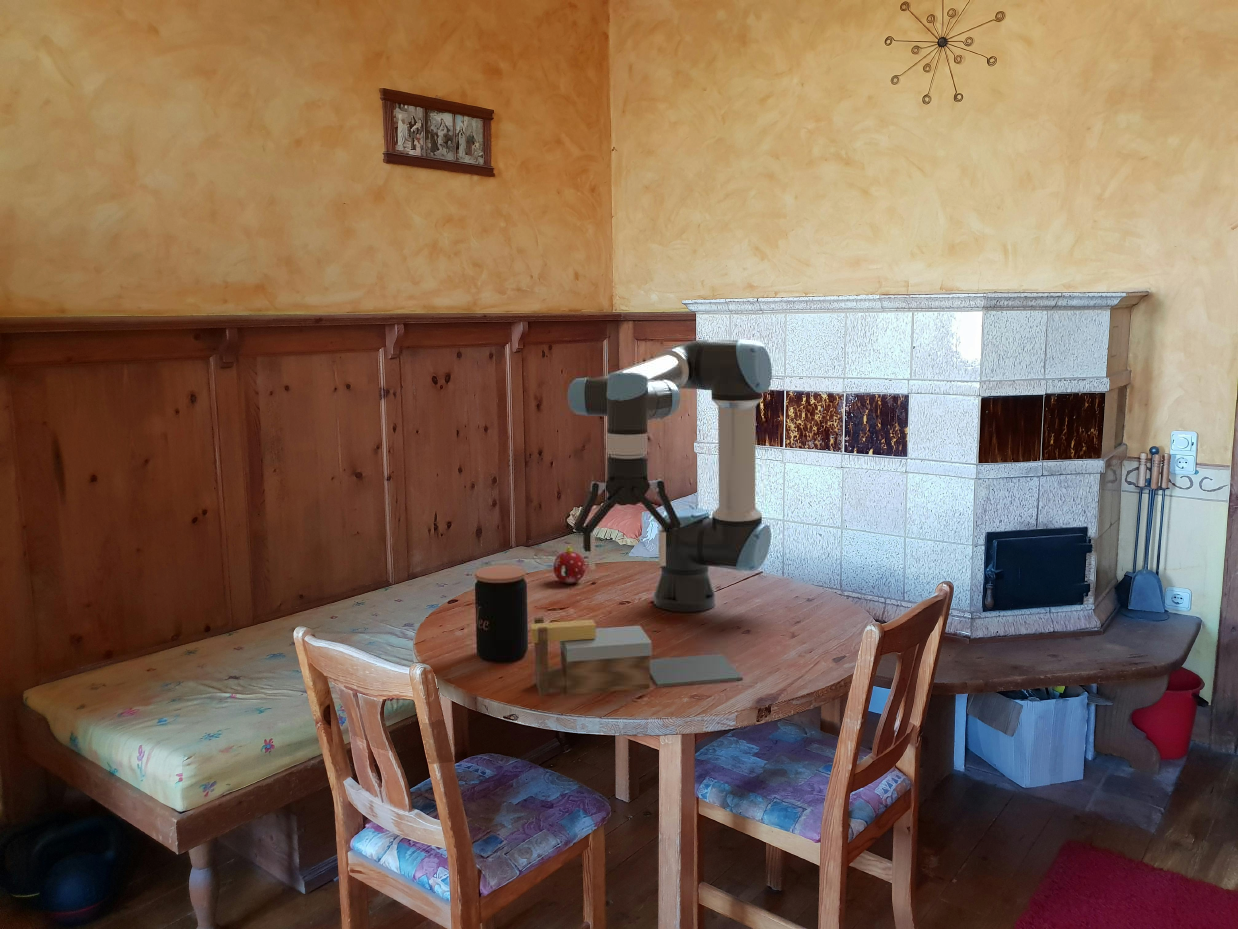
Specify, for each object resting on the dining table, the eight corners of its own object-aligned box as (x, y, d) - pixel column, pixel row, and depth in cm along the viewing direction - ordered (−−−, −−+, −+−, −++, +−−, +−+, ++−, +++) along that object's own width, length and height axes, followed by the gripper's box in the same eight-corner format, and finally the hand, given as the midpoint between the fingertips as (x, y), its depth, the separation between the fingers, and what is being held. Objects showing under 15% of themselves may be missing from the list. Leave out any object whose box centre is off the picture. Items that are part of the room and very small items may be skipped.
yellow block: (593, 633, 178) (593, 619, 178) (595, 638, 175) (595, 624, 175) (530, 637, 176) (530, 624, 176) (532, 643, 173) (532, 629, 173)
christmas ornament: (590, 580, 251) (590, 544, 249) (577, 589, 243) (577, 551, 241) (561, 577, 254) (561, 541, 252) (548, 585, 246) (547, 548, 244)
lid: (639, 645, 184) (639, 625, 184) (651, 662, 175) (651, 642, 174) (559, 650, 181) (559, 631, 181) (567, 669, 171) (567, 648, 171)
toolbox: (641, 674, 184) (641, 610, 182) (649, 687, 177) (649, 621, 175) (535, 682, 180) (534, 617, 178) (539, 696, 173) (538, 629, 171)
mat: (721, 656, 193) (721, 654, 193) (742, 680, 181) (742, 677, 181) (642, 663, 190) (642, 660, 190) (657, 687, 177) (657, 684, 177)
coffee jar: (478, 647, 199) (476, 565, 197) (528, 645, 200) (526, 564, 198) (474, 665, 189) (472, 579, 186) (527, 663, 190) (526, 578, 187)
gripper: (686, 450, 180) (685, 558, 183) (558, 454, 175) (559, 564, 178) (697, 456, 172) (696, 567, 175) (563, 460, 167) (564, 574, 171)
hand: (627, 566), depth 177 cm, fingers open, 13 cm apart
